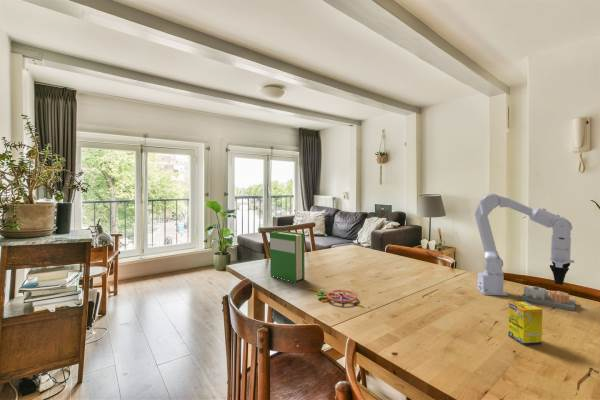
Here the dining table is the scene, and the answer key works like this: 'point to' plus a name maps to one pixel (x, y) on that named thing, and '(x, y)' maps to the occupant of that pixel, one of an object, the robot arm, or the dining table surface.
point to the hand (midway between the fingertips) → (559, 281)
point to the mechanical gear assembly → (338, 296)
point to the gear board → (545, 298)
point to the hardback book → (287, 255)
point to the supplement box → (525, 323)
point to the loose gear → (559, 297)
